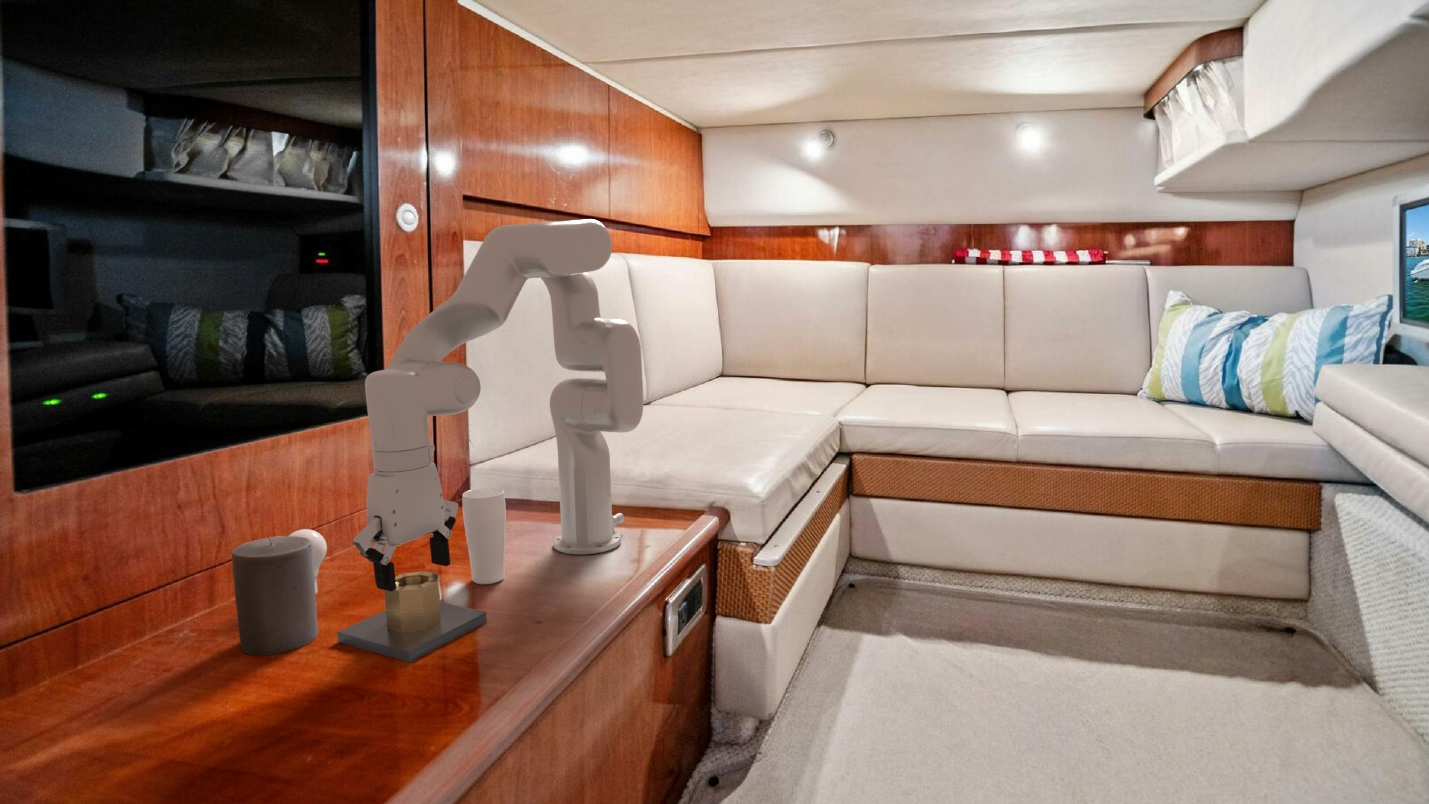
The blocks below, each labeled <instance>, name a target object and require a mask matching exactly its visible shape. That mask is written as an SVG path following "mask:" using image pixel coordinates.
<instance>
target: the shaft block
mask: <svg viewBox="0 0 1429 804" xmlns="http://www.w3.org/2000/svg"><path fill="white" fill-rule="evenodd" d="M418 585H420V584H410V585H406V586H403V587H411V586H418ZM440 605H441V622H439V623H437V624H435V625H433V626H431V627H429V628H427V629H425V630H419V631H411V632H404V633H401V632H397V631H394V630H390V629H387V618H386V610H384V611H382V612H380V613H377V614H374V615H372V616H370V617H368V618H365V619H363V620H360V621H358V622H356V623H354V624H352V625H350V626H347V627H345V628H343V629H341V630H338V631H337V642H338V643H340V644H343V645H348V646H351V647H354V648H357V649H361V650H364V651H367V652H372V653H375V654H379V655H381V656H382V655H383V656H385V657H388V658H393V659H396V660H400V661H402V662H406V663H411V662H412V663H413V661H416V660H417V659H419V658H421V657H424V656H425V655H427V654H429V653H431V652H433V651H435V650H437V649H438V648H440V647H442V646H444V645H445V644H448V643H450V642H451V641H453V640H456V639H458V638H459V637H461V636H463V635H465V634H467V633H468V632H470V631H472V630H475V629H476V628H478V627H481V626H482V625H484V624H486V623H487V622H488V620H487V619H488V618H487V612H486V611H483V610H482V611H481V610H478V609H474V608H470V607H465V606H461V605H458V604H457V605H456V604H452V603H448V602H444V601H440Z"/></svg>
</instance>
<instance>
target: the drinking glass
mask: <svg viewBox="0 0 1429 804" xmlns="http://www.w3.org/2000/svg"><path fill="white" fill-rule="evenodd" d="M461 497H462V499H461V500H462V501H461V502H462V519H463V524H464V526H463V527H464V531H465V537H466V545H467V550H468V556H469V563H470V573H471V580H472V582H473V583H475V584H478V585H494V584H496V583H499V582H501V581H502V580H503V579H504V578H505V574H506V572H505V569H506V568H505V553H506V552H505V551H506V549H505V548H506V525H507V524H506V522H507V521H506V520H507V519H506V516H507V514H506V513H507V512H506V509H507V507H506V498H505V490H504V489H501V488H498V487H480V488H474V489H470V490H467V491H464V492H463V493H462V495H461Z"/></svg>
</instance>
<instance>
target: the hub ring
mask: <svg viewBox="0 0 1429 804" xmlns="http://www.w3.org/2000/svg"><path fill="white" fill-rule="evenodd" d="M439 578H440V577H439V573H434V572H429V571H424V570H423V571H416V572H405V573H402V574H401V573H400V574H399V575H395V579H396V590H394V591H392V592H391V591H387V590H383V592H384V603H385V611H386V618H387V629H390V630H394V631H397V632H401V633H404V632H411V631H419V630H425V629H427V628H429V627H431V626H433V625H435V624H437V623H439V622H441V605H440V602H441V593H440V579H439ZM410 584H420V585H418V586H411V587H403V586H406V585H410Z"/></svg>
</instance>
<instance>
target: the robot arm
mask: <svg viewBox="0 0 1429 804" xmlns="http://www.w3.org/2000/svg"><path fill="white" fill-rule="evenodd" d="M612 250H613V240H612V236H611V235H610V232H609V231H608V229H607V228H606V226H605V225H604V224H603V223H602V222H600V221H598V220H596V219H592V218H588V219H587V218H585V219H573V220H551V221H539V222H535V223H534V222H533V223H532V222H531V223H519V224H518V223H517V224H506V225H500V226H498V227H496V228H495V227H494V228H493V229H491V230H490V231H489V232H488V234H486V236H485V238H484V240H483V241H482V242H481V245H480V247H479V248H478V250H477V251H476V254H475V256H474V258H473V259H472V261H471V262H470V265H469V266H468V267H467V270H466V272H465V273H464V276H463V277H462V279H461V280H460V283H459V284H458V286H457V289H456V290H455V292H454V293H453V295H451V297H449V298H448V299H447V300H445V301H444V302H443V303H441V304H439V305H438V306H437V307H436V308H435V309H434V310H433V311H431V312H430V313H429V314H428V315H427V316H425V317H424V318H423V319H421V320H420V321H419V322H417V324H416V325H414V326H413V328H412V329H410V330H409V332H408V333H407V334H406V335H405V337H403V339H402V341H401V343H400V344H399V346H398V347H397V349H396V351H395V353H394V354H393V357H392V358H391V360H390V362H389V364H388V366H387V369H382V370H377V371H373V372H371V373H369V374H368V375H366V378H365V381H364V387H365V389H364V391H365V398H366V410H367V417H368V425H369V436H370V437H369V438H370V443H371V454H372V462H373V472H372V473H369V474H368V479H367V491H366V525H365V527H363V528H362V530H361V531H360V532H358V534H357V535H356V536H354V538H353V539H352V542H353V544H354V545H355V547H356V548H357V550H358V551H359V553H360V555H361V557H364V558H365V559H367V560H368V562H370V563H373V571H374V572H373V573H374V580H375V584H376V588H377V589H379V590H383V591H384V590H387V591H391V592H392V591H394V590H396V579H395V577H396V573H395V571H396V570H395V563H394V562H391V558H392V556H393V554H394V552H395V550H396V548H397V547H399V546H401V545H404V544H407V543H410V542H412V541H415V540H417V539H420V538H422V537H425V536H427V535H429V534H430V535H432V536H430V537H429V550H430V558H431V564H434V565H437V566H443V567H448V566H451V555H450V546H449V545H450V543H449V539H451V537H452V535H453V533H452V529H453V528H454V526H455V524H456V521H457V519H456V517H457V514H458V510H459V507H460V505H459V503H458V502H455V501H451V500H447V499H445V498H444V495H443V489H442V483H441V480H440V476H439V473H438V469H437V466H436V463H435V462H433V458H432V453H433V452H435V450H436V447H435V444H434V443H433V442H431V437H430V427H429V418H430V417H434V416H435V417H437V416H450V415H451V416H452V415H458V414H462V413H463V412H466V411H468V410H469V409H471V408H472V407H473V406H474V405H475V403H477V401H478V399H479V397H480V394H481V389H482V388H481V381H480V379H479V376H478V374H477V373H476V372H475V371H474V370H473V369H472V368H471V367H469V366H468V365H466V364H463V363H460V362H454V361H442V360H443V359H445V357H446V356H447V355H449V354H450V353H451V352H452V351H454V350H456V349H457V348H459V347H460V346H462V345H463V344H466V343H468V342H470V341H473V340H475V339H478V338H480V337H482V336H486V335H487V334H489V333H491V332H493V331H495V330H497V329H499V328H500V327H501V326H503V325H504V324H505V322H506V321H507V320H508V317H509V315H510V313H511V311H512V309H513V307H514V304H515V302H516V301H517V299H518V298H519V295H520V293H521V291H522V289H523V287H524V286H525V283H526V282H527V280H529V279H539V278H540V279H541V280H542V282H543V283H544V285H545V286H546V289H547V291H548V294H549V297H550V304H551V316H552V330H553V331H552V332H553V344H554V345H553V346H554V355H555V357H556V358H555V359H556V361H557V363H558V365H559V366H560V367H562V368H563V369H565V370H570V371H574V372H575V371H576V372H593V373H604V375H605V378H593V377H591V378H590V377H573V378H572V377H571V378H567V379H563V380H562V381H560V382H559V383H557V385H555V386H554V388H553V389H552V391H551V393H550V398H549V411H550V415H551V420H552V424H553V427H554V431H555V432H554V433H555V437H556V438H555V439H556V447H557V459H558V460H557V466H558V485H559V507H560V508H559V512H560V527H561V528H560V531H561V532H560V533H561V534H559V535H557V536H556V537H554V539H553V548H554V549H555V550H556V551H558V552H560V553H563V554H568V555H593V554H599V553H605V552H609V551H611V550H613V549H615V548H617V547H618V546H620V545H621V543H622V536H621V535H620V533H618V532H616V531H615V528H616V526H617V525H619V524H621V523H623V522H624V521H625V516H624V514H623V513H620V512H619V513H616V514H612V513H613V509H612V508H613V507H612V486H611V485H612V484H611V481H612V480H611V456H610V449H609V446H608V443H607V440H606V438H605V437H604V435H603V433H602V432H605V433H607V432H608V433H628V432H631V431H633V430H635V429H636V428H637V427H638V426H639V424H640V423H641V420H642V416H643V412H644V387H643V385H644V384H643V366H642V365H643V364H642V363H643V362H642V360H643V359H642V350H641V342H640V338H639V336H638V333H637V331H636V329H635V328H634V327H633V325H632V324H630V323H629V322H628V321H626V320H623V319H618V318H602V316H601V313H600V312H601V310H600V302H599V301H600V300H599V292H598V288H597V285H596V283H595V281H594V279H593V277H592V276H591V274H590V273H591V272H595V271H598V270H600V269H602V268H603V267H604V266H606V264H607V263H608V261H609V260H610V258H611V255H612ZM371 543H374V544H373V546H372V544H371Z"/></svg>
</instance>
